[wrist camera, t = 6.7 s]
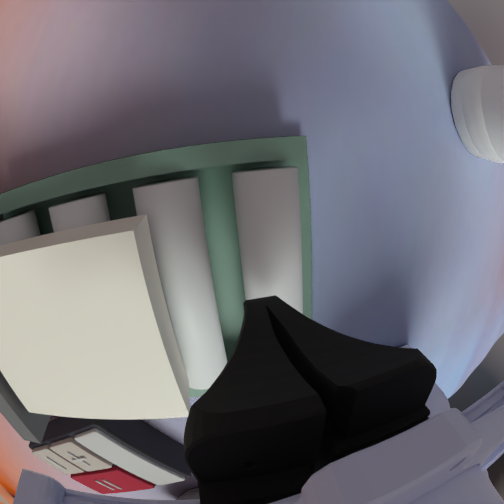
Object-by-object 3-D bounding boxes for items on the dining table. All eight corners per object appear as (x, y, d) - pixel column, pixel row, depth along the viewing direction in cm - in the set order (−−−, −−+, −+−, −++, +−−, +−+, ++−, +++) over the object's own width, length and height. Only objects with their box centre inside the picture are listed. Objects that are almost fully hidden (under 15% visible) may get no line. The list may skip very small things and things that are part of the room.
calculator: (25, 451, 16) (92, 430, 15) (36, 424, 20) (104, 390, 19) (103, 497, 20) (193, 484, 19) (107, 470, 24) (193, 448, 23)
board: (146, 214, 11) (133, 230, 8) (189, 382, 14) (189, 416, 12) (-20, 251, 9) (-47, 268, 7) (41, 385, 13) (28, 412, 10)
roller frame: (301, 136, 15) (375, 129, 8) (307, 344, 20) (348, 421, 13) (-9, 197, 12) (-85, 229, 5) (54, 371, 17) (24, 440, 10)
